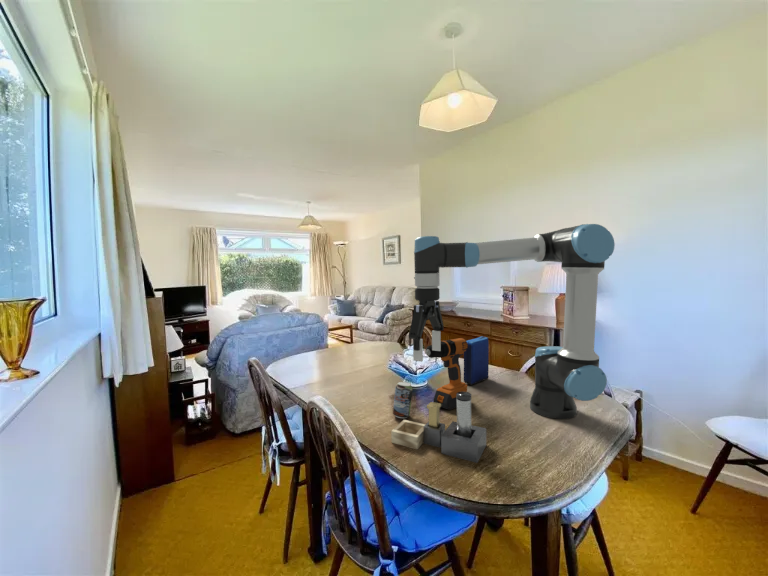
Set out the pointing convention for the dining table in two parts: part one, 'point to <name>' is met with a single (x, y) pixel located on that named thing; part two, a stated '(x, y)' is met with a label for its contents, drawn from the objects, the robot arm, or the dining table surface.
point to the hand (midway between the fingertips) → (427, 355)
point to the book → (476, 360)
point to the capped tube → (464, 414)
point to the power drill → (450, 371)
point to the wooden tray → (408, 434)
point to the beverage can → (402, 400)
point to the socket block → (456, 441)
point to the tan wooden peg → (434, 414)
